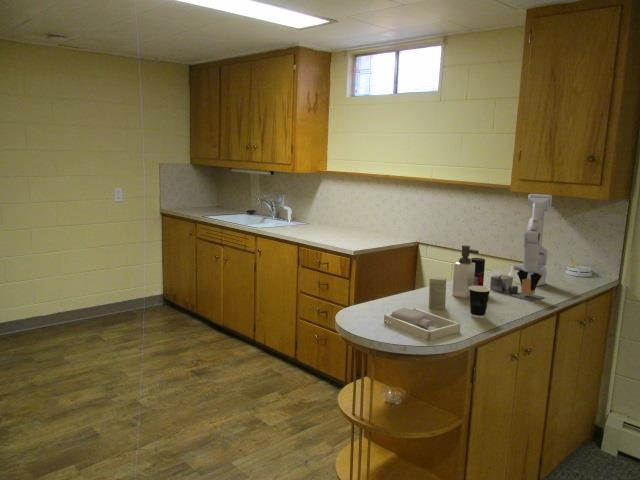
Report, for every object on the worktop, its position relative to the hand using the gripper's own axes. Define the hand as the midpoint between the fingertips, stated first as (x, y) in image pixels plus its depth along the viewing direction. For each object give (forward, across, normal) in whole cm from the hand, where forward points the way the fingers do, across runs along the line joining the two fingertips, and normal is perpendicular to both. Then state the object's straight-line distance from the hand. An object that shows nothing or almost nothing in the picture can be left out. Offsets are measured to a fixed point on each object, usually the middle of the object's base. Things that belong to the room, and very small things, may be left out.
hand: (528, 289), depth 226 cm
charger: (+4, 0, -70) cm, 70 cm away
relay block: (+2, 0, 0) cm, 2 cm away
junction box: (+4, -14, +1) cm, 14 cm away
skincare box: (+4, -11, -46) cm, 47 cm away
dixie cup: (+4, +5, -41) cm, 41 cm away
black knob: (+4, -8, +1) cm, 9 cm away
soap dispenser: (+4, -16, -22) cm, 27 cm away
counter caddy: (+4, +2, -69) cm, 69 cm away
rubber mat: (+4, 0, 0) cm, 4 cm away
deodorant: (+4, -18, -12) cm, 22 cm away
